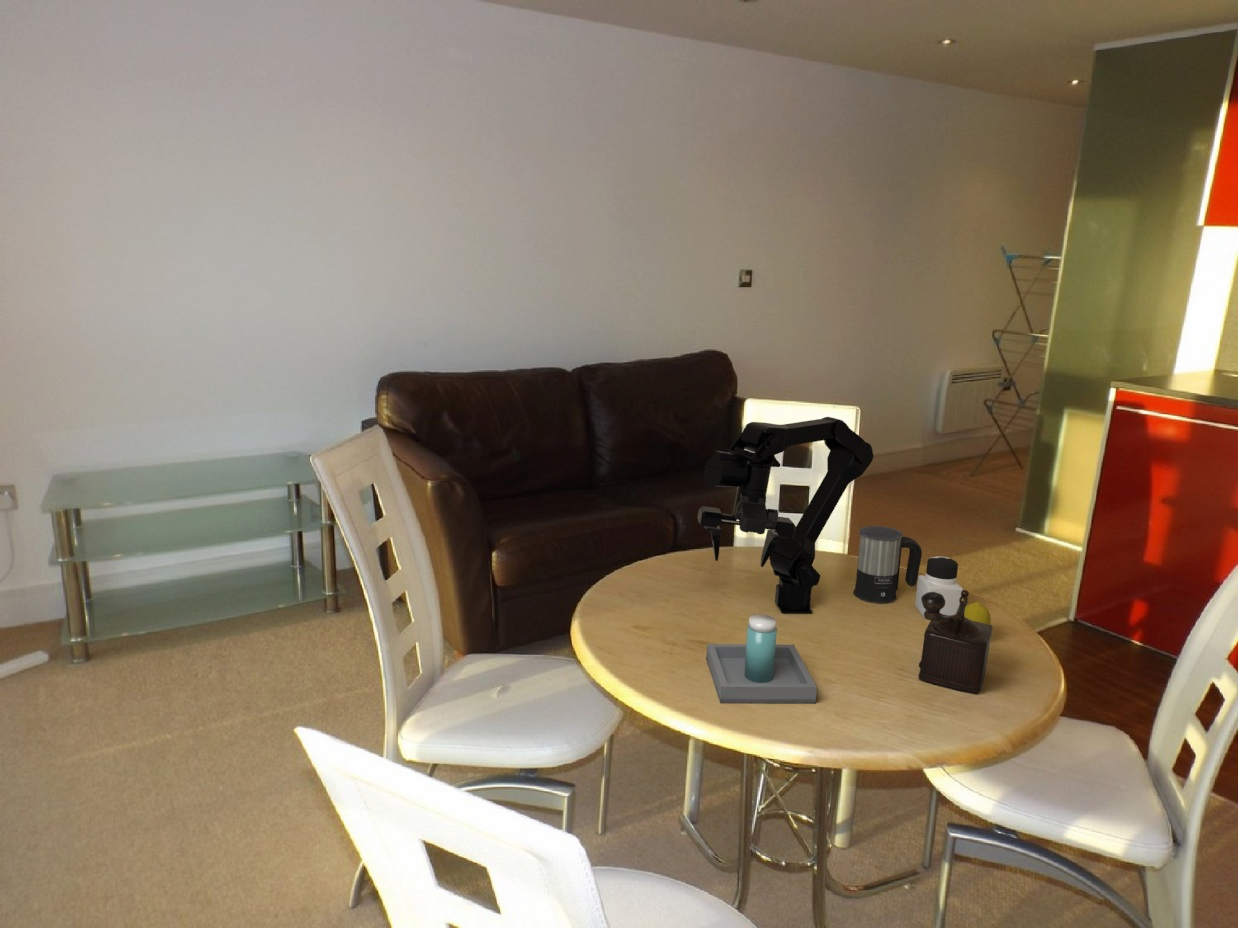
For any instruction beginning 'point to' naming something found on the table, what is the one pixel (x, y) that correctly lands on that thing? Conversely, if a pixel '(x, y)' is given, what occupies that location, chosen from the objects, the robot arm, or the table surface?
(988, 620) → the lemon
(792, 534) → the robot arm
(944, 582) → the medicine bottle
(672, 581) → the table surface
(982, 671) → the manual coffee grinder
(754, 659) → the ball
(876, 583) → the milk frother
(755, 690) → the tray
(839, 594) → the table surface
